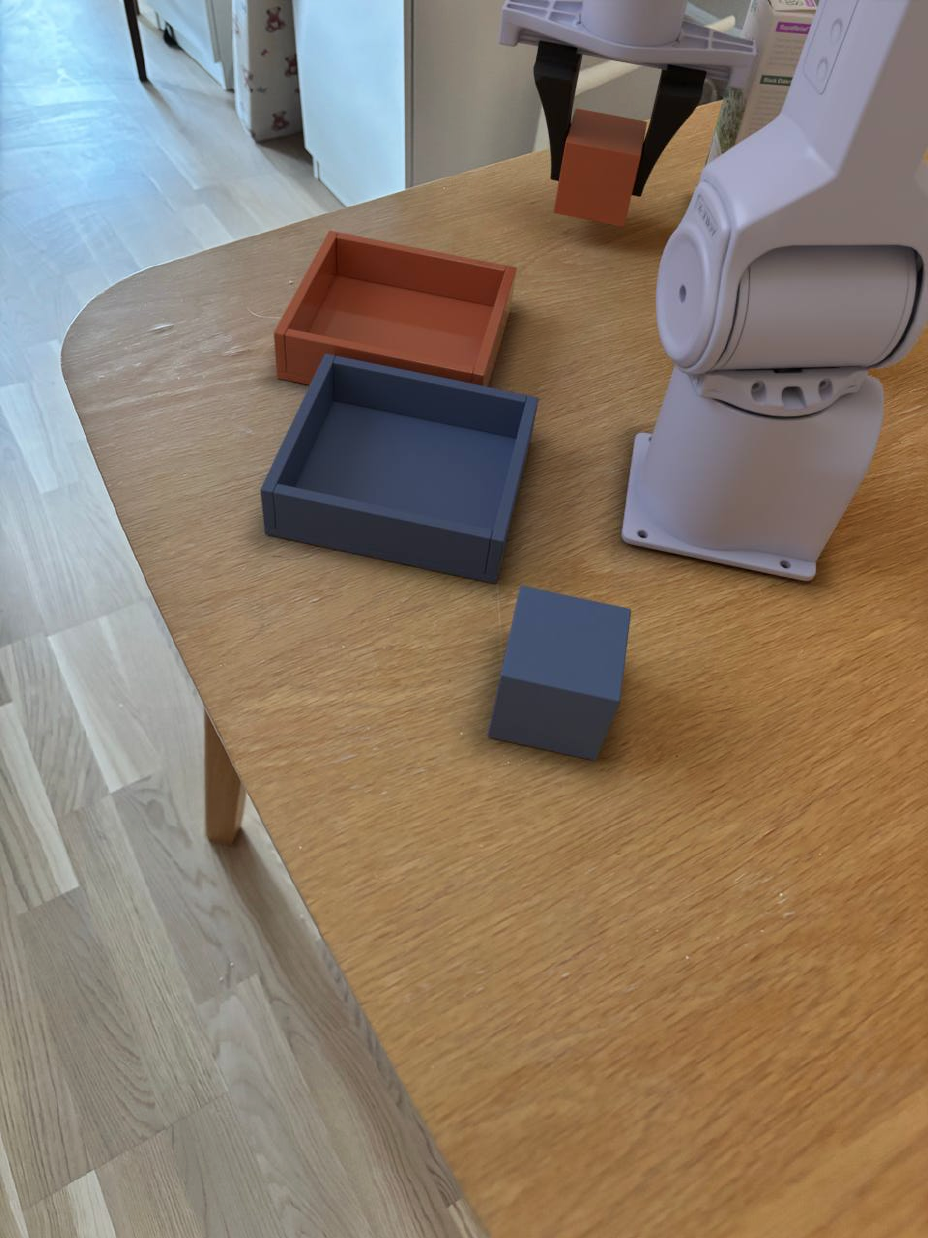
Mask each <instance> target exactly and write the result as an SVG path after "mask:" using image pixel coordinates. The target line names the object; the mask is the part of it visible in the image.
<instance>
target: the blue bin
mask: <svg viewBox="0 0 928 1238" xmlns="http://www.w3.org/2000/svg"><path fill="white" fill-rule="evenodd" d="M539 400H540V399H539V397H538V396H533V395H527V394H523V393H520V392H515V391H510V390H505V389H500V388H495V387H491V386H488V387H486V386H481V385H476V384H471V383H466V382H461V381H457V380H452V379H447V378H442V377H437V376H432V375H427V374H422V373H418V372H413V371H408V370H403V369H398V368H393V367H388V366H383V365H379V364H374V363H369V362H364V361H359V360H354V359H349V358H344V357H340V356H335V355H330V354H325V355H324V357H323V359H322V361H321V363H320V365H319V367H318V369H317V371H316V373H315V376H314V378H313V380H312V382H311V384H310V385H308V388H307V390H306V393H305V395H304V396H303V398H302V401H301V403H300V405H299V407H298V409H297V412H296V413H295V415H294V418H293V420H292V422H291V423H290V426H289V428H288V430H287V431H286V434H285V436H284V438H283V440H282V443H281V445H280V447H279V448H278V452H277V453H276V455H275V458H274V459H273V462H272V464H271V466H270V468H269V470H268V472H267V474H266V477H265V479H264V481H263V483H262V485H261V487H260V489H259V490H260V491H259V492H260V499H261V500H260V501H261V509H262V510H261V511H262V520H263V528H264V529H263V530H264V535H267V536H272V537H276V538H281V539H287V540H290V541H295V542H300V543H303V544H304V543H305V544H308V545H309V544H310V545H313V546H318V547H323V548H328V549H333V550H336V551H342V552H347V553H352V554H356V555H360V556H364V557H369V558H375V559H378V560H383V561H388V562H391V563H392V562H393V563H396V564H397V563H398V564H402V565H407V566H412V567H416V568H419V569H425V570H430V571H435V572H439V573H444V574H448V575H453V576H457V577H462V578H465V579H466V578H467V579H472V580H476V581H481V582H486V583H490V584H494V585H495V584H497V583H498V580H499V575H500V572H501V567H502V562H503V558H504V554H505V550H506V545H507V542H508V537H509V533H510V529H511V525H512V521H513V516H514V512H515V509H516V503H517V499H518V495H519V493H520V492H519V491H520V488H521V483H522V479H523V474H524V470H525V466H526V461H527V457H528V454H529V449H530V445H531V441H532V436H533V431H534V425H535V420H536V415H537V410H538V405H539Z"/></svg>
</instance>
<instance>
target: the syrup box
mask: <svg viewBox="0 0 928 1238" xmlns="http://www.w3.org/2000/svg"><path fill="white" fill-rule="evenodd" d="M819 1H820V0H750V3H749V6H748V10H747V13H746V17H745V20H744V23H743V27H742V31H741V34H740V37H741V38H745V39H750V40H755V41H757V55H756V58H755V62H754V65H753V68H752V71H751V75H750V78H749V81H748V84H747V88H746V89H745V90H743V89H738V88H733V87H730V86H728V84H727V85H726V88H725V92H724V95H723V99H722V102H721V106H720V109H719V113H718V117H717V120H716V123H715V127H714V129H713V134H712V138H711V141H710V145H709V149H708V151H707V152H708V153H707V155H706V159H705V163H704V166H703V169H704V168H705V167H706V166H707V165H708V164H709V163H710V162H712V161H713V160H715V159H716V158H717V157H719V156H720V155H722V154H723V153H725V152H726V151H728V150H729V149H731V148H732V147H734V146H735V145H737V144H738V143H740V142H741V141H743V140H745V139H746V138H748V137H749V136H751V135H752V134H754V133H756V132H757V131H759V130H760V129H762V128H763V127H765V126H766V125H767V124H769V123H770V122H771V121H773V120H774V119H775V118H777V117H778V116H779V115H780V113H781V111H782V108H783V105H784V102H785V99H786V96H787V93H788V91H789V88H790V85H791V82H792V79H793V76H794V73H795V70H796V67H797V65H798V62H799V59H800V56H801V53H802V50H803V47H804V44H805V41H806V39H807V36H808V33H809V30H810V27H811V24H812V21H813V18H814V15H815V13H816V10H817V7H818V4H819Z"/></svg>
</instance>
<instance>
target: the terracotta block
mask: <svg viewBox="0 0 928 1238" xmlns="http://www.w3.org/2000/svg"><path fill="white" fill-rule="evenodd" d="M647 125H648V121H646V120H642V119H641V120H640V119H635V118H630V117H624V116H619V115H614V114H609V113H604V112H598V111H594V110H593V111H592V110H587V109H582V108H574V111H573V115H572V117H571V125H570V129H569V132H568V136H567V139H566V143H565V149H564V154H563V160H562V166H561V172H560V177H559V181H558V184H557V189H556V194H555V195H556V196H555V200H554V201H555V202H554V206H553V214H557V215H561V216H567V217H573V218H577V219H583V220H588V221H592V222H593V221H594V222H598V223H604V224H608V225H614V226H620V227H625V226H626V225H625V224H626V221H627V217H628V213H629V208H630V204H631V199H632V196H633V195H632V192H633V187H634V183H635V179H636V175H637V171H638V166H639V162H640V158H641V153H642V147H643V142H644V139H645V136H646V132H647V127H648V126H647Z"/></svg>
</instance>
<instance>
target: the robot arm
mask: <svg viewBox="0 0 928 1238" xmlns="http://www.w3.org/2000/svg"><path fill="white" fill-rule="evenodd" d="M688 1H689V0H505V1H504V3H503V5H502V7H501V14H500V24H499V30H498V31H499V33H498V41H497V44H499V45H501V46H505V47H506V46H507V47H512V48H513V47H517V46H518V44H522V45H527V46H533V47H537V51H536V56H535V62H534V64H533V67H532V73H533V79H534V85H535V87H536V91H537V94H538V96H539V99H540V103H541V107H542V109H543V114H544V118H545V122H546V129H547V134H548V142H549V151H550V176H549V178H550V180H551V181H557V182H559V177H560V172H561V166H562V160H563V154H564V149H565V143H566V139H567V136H568V132H569V129H570V125H571V122H572V118H573V115H572V114H573V108H574V103H575V98H576V97H575V96H576V92H577V87H578V81H579V75H580V70H581V66H582V60H583V56H587V57H593V58H598V59H604V60H610V61H613V62H614V61H615V62H620V63H625V64H630V65H636V66H640V67H647V68H653V69H658V70H661V71H660V76H659V80H658V85H657V88H656V94H655V98H654V102H653V107H652V110H651V115H650V119H649V123H648V126H647V129H646V132H645V137H644V142H643V147H642V153H641V158H640V162H639V166H638V171H637V175H636V179H635V183H634V187H633V192H632V196H634V197H638V198H640V197H642V195H643V192H644V189H645V187H646V184H647V182H648V179H649V177H650V176H651V174H652V171H653V170H654V168H655V165H656V164H657V162H658V161H659V159H660V157H661V156H662V154H663V153H664V150H665V149H666V147H667V146H668V145H669V143H670V142H671V140H672V139H673V137H674V136H675V135H676V134H677V133H678V132H679V130H680V129H681V127H682V126H684V124H685V122H687V120H688V119H690V117H691V116H692V115H693V113H694V112H695V110H696V109H697V107H698V106H699V104H700V102H701V100H702V98H703V92H704V85H705V81H706V78H707V79H712V80H716V81H717V80H718V81H723V82H726V84H727V85H728V86H730V87H733V88H738V89H743V90H745V89H746V88H747V84H748V81H749V78H750V75H751V71H752V68H753V65H754V62H755V58H756V55H757V41H755V40H750V39H745V38H741V36H736V35H734V34H729V33H726V32H723V31H721V30H717V29H714V28H711V27H709V26H705V25H702V24H699V23H696V22H693V21H690V20H687V19H685V14H686V10H687V6H688V3H689V2H688ZM927 151H928V0H820V1H819V4H818V7H817V10H816V13H815V15H814V18H813V21H812V24H811V27H810V30H809V33H808V36H807V39H806V41H805V44H804V47H803V50H802V53H801V56H800V59H799V62H798V65H797V67H796V70H795V73H794V76H793V79H792V82H791V85H790V88H789V91H788V93H787V96H786V99H785V102H784V105H783V108H782V111H781V113H780V115H779V116H778V117H777V118H775V119H774V120H773V121H771V122H770V123H769V124H767V125H766V126H765V127H763V128H762V129H760V130H759V131H757V132H756V133H754V134H752V135H751V136H749V137H748V138H746V139H745V140H743V141H741V142H740V143H738V144H737V145H735V146H734V147H732V148H731V149H729V150H728V151H726V152H725V153H723V154H722V155H720V156H719V157H717V158H716V159H715V160H713V161H712V162H710V163H709V164H708V165H707V166H706V167H705V168H704V167H703V169H702V170H701V173H700V176H699V180H698V184H697V185H696V187H695V189H694V191H693V194H692V197H691V200H690V202H689V204H688V207H687V209H686V212H685V213H684V216H683V217H682V219H681V221H680V222H679V224H678V226H677V228H676V229H675V230H674V231H673V232H672V234H671V235H670V236H669V238H668V241H666V245H665V247H664V249H663V252H662V255H661V259H660V263H659V268H658V272H657V273H658V274H657V278H656V288H655V314H656V315H655V316H656V325H657V332H658V336H659V339H660V343H661V345H662V347H663V349H664V352H665V354H667V356H668V357H669V358H670V360H671V362H672V364H673V365H674V366H673V369H672V373H671V376H670V378H669V382H668V384H667V389H666V391H665V394H664V397H663V401H662V403H661V407H660V410H659V413H658V416H657V419H656V422H655V426H654V428H653V430H652V431H653V432H652V433H649V432H639V433H637V434H636V435H635V436H634V441H633V448H632V455H631V461H630V469H629V470H630V471H629V474H628V475H629V476H628V483H627V491H626V497H625V505H624V512H623V513H624V514H623V519H622V526H621V534H620V537H621V539H622V541H623V542H625V544H629V545H632V546H637V547H641V548H645V549H646V548H647V549H650V550H651V549H652V550H656V551H661V552H665V553H670V554H673V555H680V556H684V557H690V558H693V559H698V560H703V561H708V562H713V563H717V564H721V565H726V566H732V567H736V568H741V569H745V570H750V571H755V572H758V573H759V572H760V573H765V574H770V575H774V576H778V577H782V578H783V577H784V578H788V579H793V580H796V581H797V580H798V581H801V582H810V581H812V580H813V579H814V577H815V575H816V573H817V560H818V559H819V558H820V556H821V554H822V552H823V550H824V549H825V547H826V546H827V544H828V542H829V540H830V539H831V536H832V535H833V533H834V532H835V530H836V528H837V526H838V524H839V523H840V521H841V520H842V518H843V516H844V514H845V512H846V510H847V509H848V507H849V505H850V503H851V502H852V500H853V498H854V496H855V495H856V493H857V491H858V489H859V488H860V486H861V484H862V483H863V481H864V479H865V476H866V474H867V473H868V470H869V468H870V465H871V463H872V460H873V458H874V454H875V452H876V449H877V445H878V443H879V439H880V436H881V431H882V427H883V421H884V412H885V391H884V386H883V384H882V382H881V380H880V379H878V378H877V377H875V376H872V375H869V371H870V369H876V370H883V369H887V368H890V367H892V366H895V365H896V364H897V363H899V362H901V361H902V360H903V359H905V357H906V356H907V355H908V354H909V353H910V352H911V350H912V349H913V348H914V347H915V345H916V344H917V342H918V341H919V339H920V337H921V335H922V334H923V332H924V329H925V328H926V325H927V323H928V163H927V161H926V160H925V159H924V157H925V155H926V152H927Z"/></svg>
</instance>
